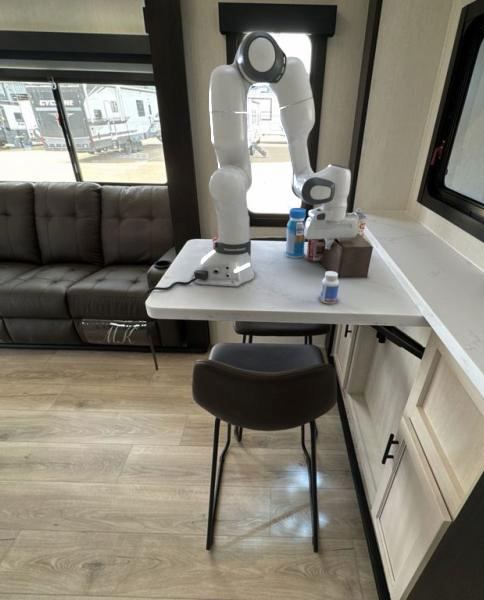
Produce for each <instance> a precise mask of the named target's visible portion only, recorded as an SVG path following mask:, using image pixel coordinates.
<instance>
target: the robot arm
mask: <svg viewBox="0 0 484 600" xmlns="http://www.w3.org/2000/svg"><path fill="white" fill-rule="evenodd" d="M308 75H309V74H308V72H307V69H306V67H305V64H304V62H303V60H301V59H300V58H299V57H297V56H287V54H286V53H285V51H284V50H283V49H282V48H281V47H280V45H279V44H278V42H277V40H276V39H275V38H274V37H273V36H272V35H271V34H270V33H268V32H267V31H265V30H254V31H251V32H250V33H248V34H247V35H246V36H245V37H244V38H243V40H242V41H241V42H240V44H239V46H238V48H237V50H236V53H235V56H234V58H233V61H232V62H231V64H221V65H219V66H217V67H215V68H214V69H213V70H212V72H211V73H210V78H209V95H208V96H209V97H208V99H209V102H208V103H209V105H208V106H209V119H210V121H209V122H210V132H211V133H210V134H211V143H212V146H213V148H214V152H215V156H216V160H217V167H218V168H217V169H216V170H214V172H213V173H212V175H211V176H210V179H209V183H208V191H209V194H210V196H211V198H212V202H213V206H214V210H215V214H216V221H217V235H218V237H217V236H214V237H213V238H212V250H210V251H209V252H208V253H206V254H205V255H203V257H202V258H201V260H200V262H199V267H197V268H196V269H195V271H193V278H192V279H190V280H189V281H174V282H172V283H171V284H170V285H169V286H165V287H163V286H162V287H160V286H154V287H150V288H148V290H146V292H145V293H146V294H150V293H151V292H153V291H168V290H170V289H172V288H174V286H176V285H183V286H187V285H190V284H192V283H193V282H195V283H196V284H198V285H206V286H207V285H209V286H221V287H235V288H236V287H239V286H240V285H242V284H244V283H247V282H249V281H252V279H253V278H254V277H255V272H254V269H253V265H252V257H251V256H252V240H251V237H250V231H251V230H250V216H249V215H250V214H249V209H248V200H247V194H248V192H249V190H250V189H251V187H252V184H253V175H252V164H251V163H252V162H251V154H250V146H249V115H248V113H249V111H248V109H249V108H248V98H249V92H250V89H253V88H257V87H260V86H264V85H265V86H267V87H268V88H269V89H270V91H271V92H272V95H273V97H274V100H275V106H276V109H277V110H276V111H277V114H278V119H279V123H280V124H281V128H282V130H283V133H284V136H285V139H286V142H287V146H288V151H289V156H290V162H291V167H292V178H291V186H290V187H291V191H292V193H293V195H294V196H295V197H297V198H298V199H300V200H302V201H303V202H304V203H306V205H307V204H308V205H310V206H316V205H321V206H318V207H315V208H313V209H312V208H311V209H310V210H308V212H307V216H308V217H307V218H306V220H305V222H306V223H305V227H304V236H305V239H307V240H308V239H324V240H325V242H326V244H325V249H326V250H330V249H331V247H332V243H333V242H334V239H337V238H354V237H355V236H356V235H357V223H358V220H359V216H358V215H357V214H356V213H354V212H347V208H348V196H349V195H350V190H351V182H352V181H351V180H352V173H351V170H350V168H349V167H347V166H344V165H341V164H337V163H330V164H328V166H326V167H325V168H324V169H322V170H319V171H318V172H314V171H313V169H312V166H311V162H310V156H309V151H308V139H309V135H310V133H311V131H312V129H313V128H314V126H315V123H316V110H315V108H316V107H315V101H314V100H315V99H314V96H313V89H312V86H311V82H310V79H309V76H308ZM356 215H357V216H356ZM328 241H329V242H328ZM147 338H148V342H149V346H150V351H151V354H152V358H153V362H154V366H155V367H154V368H155V371H159V365H158V359H157V355H156V351H155V347H154V344H153V341H152V335H151V334H147Z"/></svg>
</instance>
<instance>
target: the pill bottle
mask: <svg viewBox="0 0 484 600" xmlns="http://www.w3.org/2000/svg"><path fill="white" fill-rule="evenodd" d="M339 286H340V281H339V278H338V273H336V272H334V271H329V270H328V271H325V273H324V278H323V279H322V280H321V287H320V289H321V290H320V301H321V302H322V303H324V304H329V305H333V304H335V303H337V299H338V293H339Z"/></svg>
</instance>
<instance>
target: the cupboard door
mask: <svg viewBox="0 0 484 600" xmlns="http://www.w3.org/2000/svg"><path fill="white" fill-rule="evenodd" d="M328 242H329V241H328ZM325 244H326V242H325V240H324V239H323V241H322V242H320V243H314V253H313V257H314V258H317V257H321V258H320V261H319V262H320V264H321V265H323V267H324V268H326V270H328V271H334V272H336V273H338V278H337V279H340V278H339V271H340V265H341V258H342V252H343V247H342V246H341V245H339V244H338V243H337V242H335V241H334V242H333V243H332V247H331V249H330V250H326V249H325ZM317 246H322V250H321V253H320V254H316V252H317Z"/></svg>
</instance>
